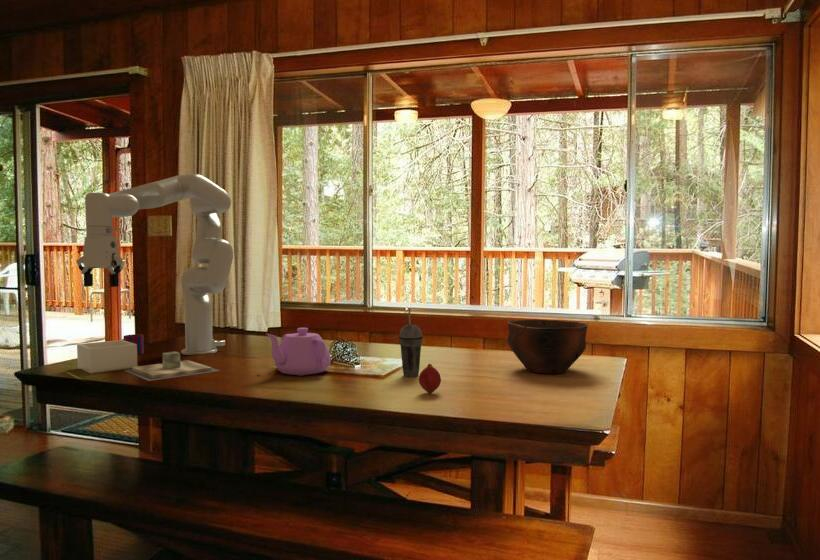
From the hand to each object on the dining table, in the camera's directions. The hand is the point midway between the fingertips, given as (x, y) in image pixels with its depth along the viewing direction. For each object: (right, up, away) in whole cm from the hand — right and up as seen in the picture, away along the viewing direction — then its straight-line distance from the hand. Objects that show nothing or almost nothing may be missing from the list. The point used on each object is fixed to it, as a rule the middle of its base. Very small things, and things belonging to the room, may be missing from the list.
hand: (101, 286), depth 205 cm
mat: (+23, -27, -3) cm, 36 cm away
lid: (+23, -26, -3) cm, 35 cm away
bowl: (+140, -26, -4) cm, 143 cm away
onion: (+103, -28, -34) cm, 112 cm away
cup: (-4, -25, +31) cm, 41 cm away
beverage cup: (+98, -27, -10) cm, 102 cm away
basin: (0, -27, +3) cm, 27 cm away
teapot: (+63, -27, -5) cm, 69 cm away
